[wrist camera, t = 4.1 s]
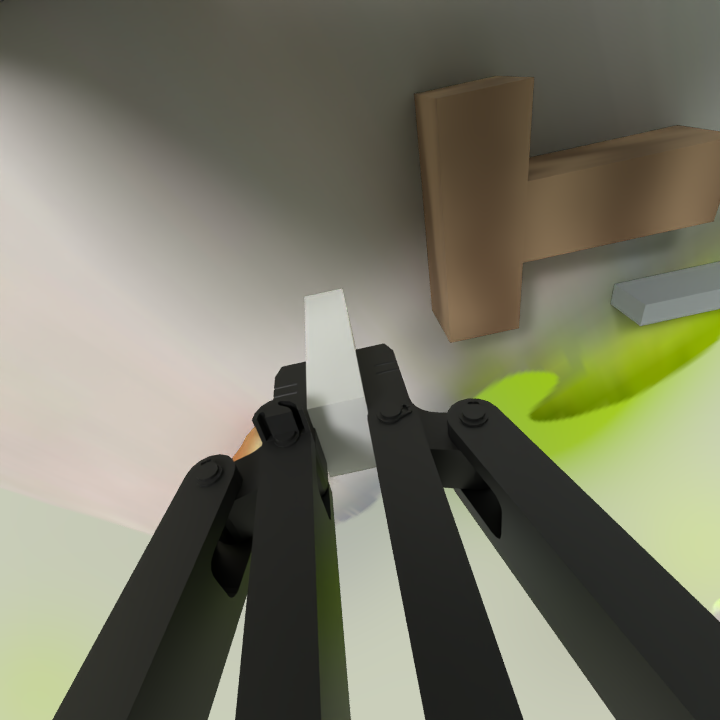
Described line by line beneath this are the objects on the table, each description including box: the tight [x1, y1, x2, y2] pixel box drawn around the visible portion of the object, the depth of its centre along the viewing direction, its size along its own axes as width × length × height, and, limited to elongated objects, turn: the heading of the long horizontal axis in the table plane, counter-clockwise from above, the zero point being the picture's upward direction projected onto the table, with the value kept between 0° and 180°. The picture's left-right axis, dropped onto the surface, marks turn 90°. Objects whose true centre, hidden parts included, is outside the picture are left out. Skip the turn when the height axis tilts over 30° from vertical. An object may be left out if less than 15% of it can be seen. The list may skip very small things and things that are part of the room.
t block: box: [414, 76, 720, 343], centre depth 22 cm, size 14×12×4 cm
